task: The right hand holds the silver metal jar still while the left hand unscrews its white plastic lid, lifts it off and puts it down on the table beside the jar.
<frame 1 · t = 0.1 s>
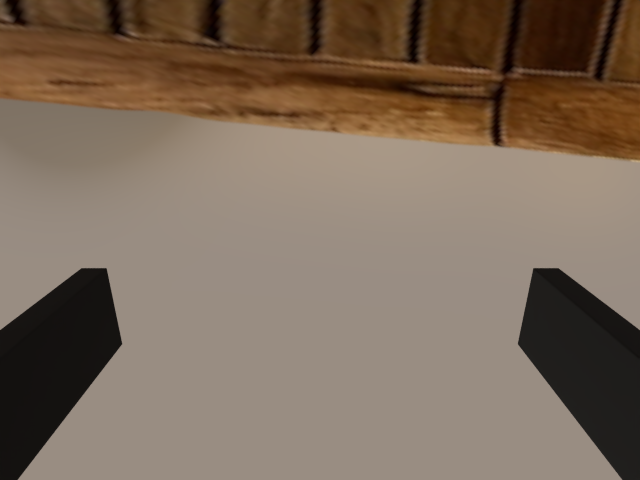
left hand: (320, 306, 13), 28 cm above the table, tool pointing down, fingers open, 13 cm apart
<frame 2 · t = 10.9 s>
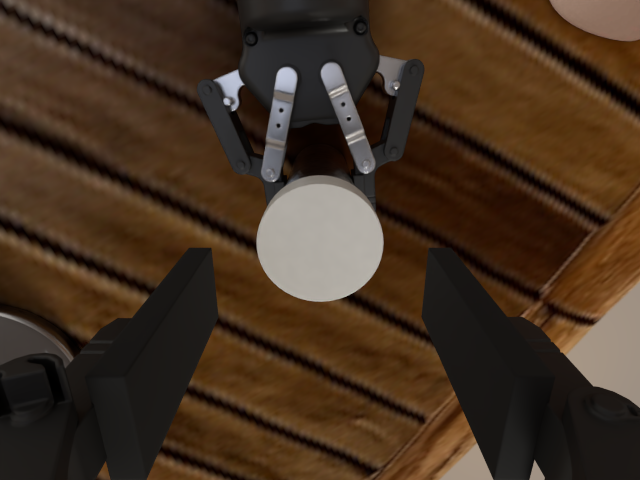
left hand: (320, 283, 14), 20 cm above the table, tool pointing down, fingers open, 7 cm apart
right hand: (323, 226, 28), fingers closed on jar, 4 cm apart
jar: (320, 171, 33), on the table, touching right hand
lid: (320, 243, 18), point 16 cm above the table, screwed on, not yet turned
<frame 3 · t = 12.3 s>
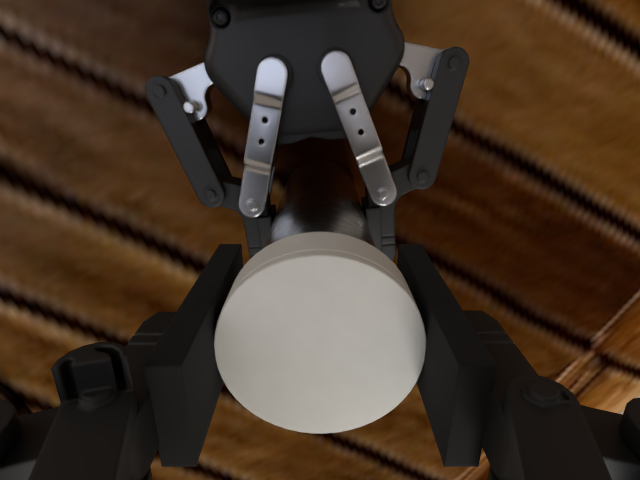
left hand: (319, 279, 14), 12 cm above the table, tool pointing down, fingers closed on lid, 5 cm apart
right hand: (325, 272, 21), fingers closed on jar, 4 cm apart
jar: (319, 194, 26), on the table, touching right hand
lid: (320, 344, 11), point 16 cm above the table, screwed on, not yet turned, touching left hand
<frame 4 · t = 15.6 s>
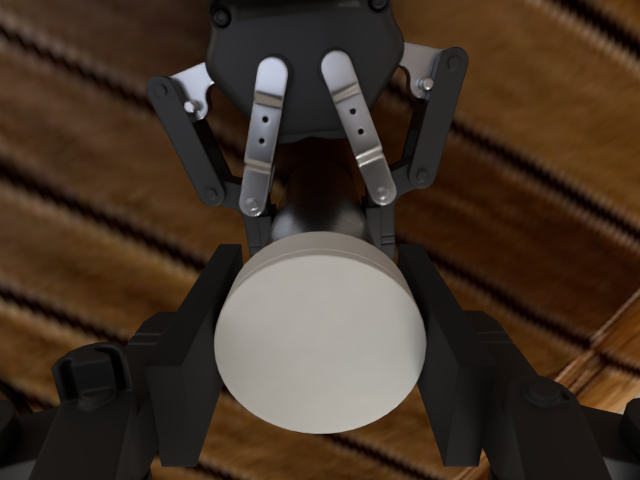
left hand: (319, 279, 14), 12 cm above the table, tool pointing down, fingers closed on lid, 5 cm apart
right hand: (325, 271, 21), fingers closed on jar, 4 cm apart
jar: (320, 193, 26), on the table, touching right hand
lid: (320, 344, 11), point 16 cm above the table, turned 92° so far, risen 0.1 cm, still on its thread, touching left hand
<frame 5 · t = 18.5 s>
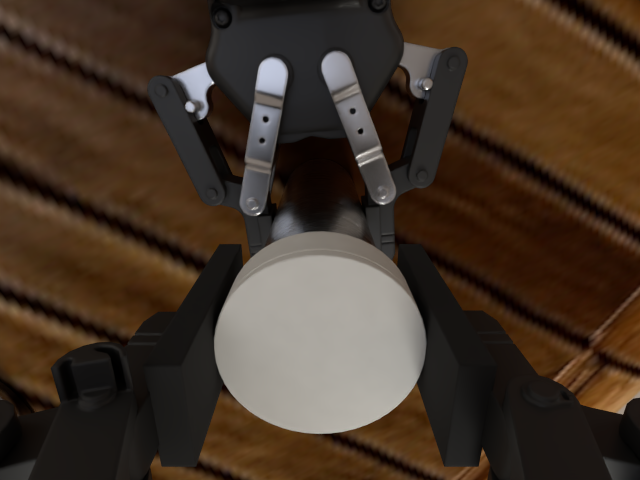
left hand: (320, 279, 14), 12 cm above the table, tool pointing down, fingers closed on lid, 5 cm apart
right hand: (325, 270, 21), fingers closed on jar, 4 cm apart
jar: (320, 193, 26), on the table, touching right hand
lid: (320, 344, 11), point 16 cm above the table, turned 184° so far, risen 0.2 cm, still on its thread, touching left hand
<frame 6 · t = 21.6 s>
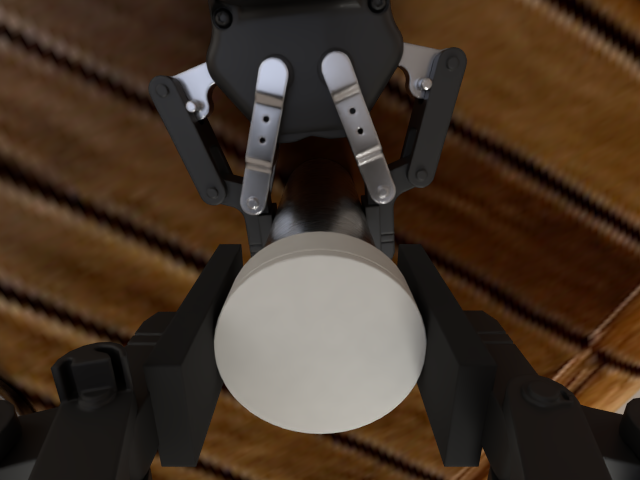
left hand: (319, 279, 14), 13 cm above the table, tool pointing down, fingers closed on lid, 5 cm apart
right hand: (325, 270, 21), fingers closed on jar, 4 cm apart
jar: (320, 193, 26), on the table, touching right hand
lid: (320, 344, 11), point 16 cm above the table, turned 275° so far, risen 0.3 cm, still on its thread, touching left hand
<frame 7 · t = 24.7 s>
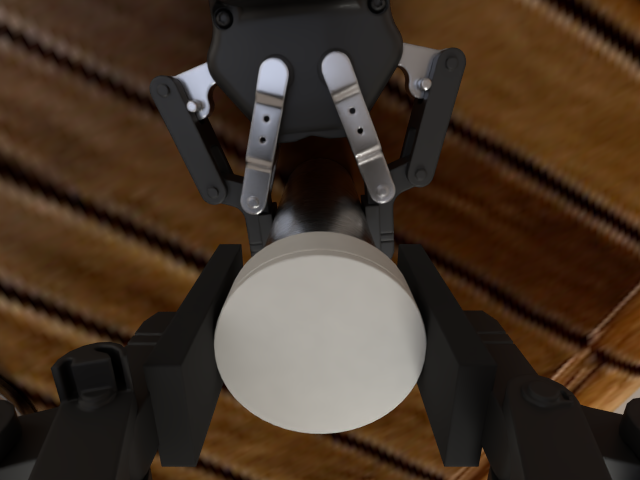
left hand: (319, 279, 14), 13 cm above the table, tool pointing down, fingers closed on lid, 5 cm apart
right hand: (325, 269, 22), fingers closed on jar, 4 cm apart
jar: (320, 192, 26), on the table, touching right hand
lid: (320, 344, 11), point 17 cm above the table, turned 367° so far, risen 0.4 cm, still on its thread, touching left hand
when the left hand's fingers open (0 cm above the table, at t = 32.0 s): lid drops 3 cm, point 1 cm above the table.
when the right hand's fingers open (6 cm above the table, at t = 32.6 s): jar stays where it is, on the table.
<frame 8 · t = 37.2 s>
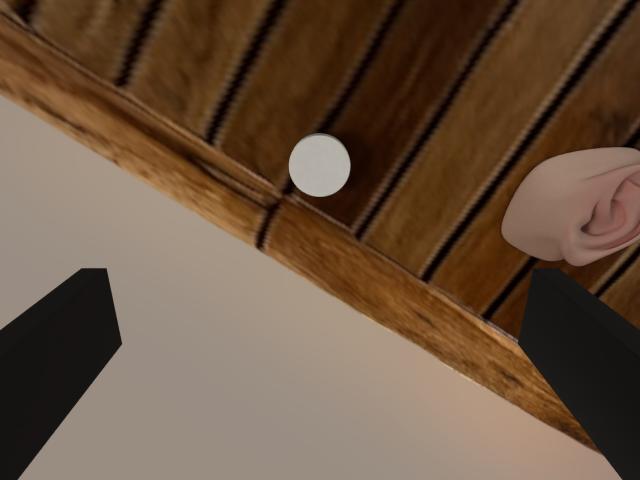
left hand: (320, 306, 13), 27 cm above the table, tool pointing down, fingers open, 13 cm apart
lid: (319, 166, 37), point 1 cm above the table, off its thread
anatomical model: (572, 205, 39), on the table
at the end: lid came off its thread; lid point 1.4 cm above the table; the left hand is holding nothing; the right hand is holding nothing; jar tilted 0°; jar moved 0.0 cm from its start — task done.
